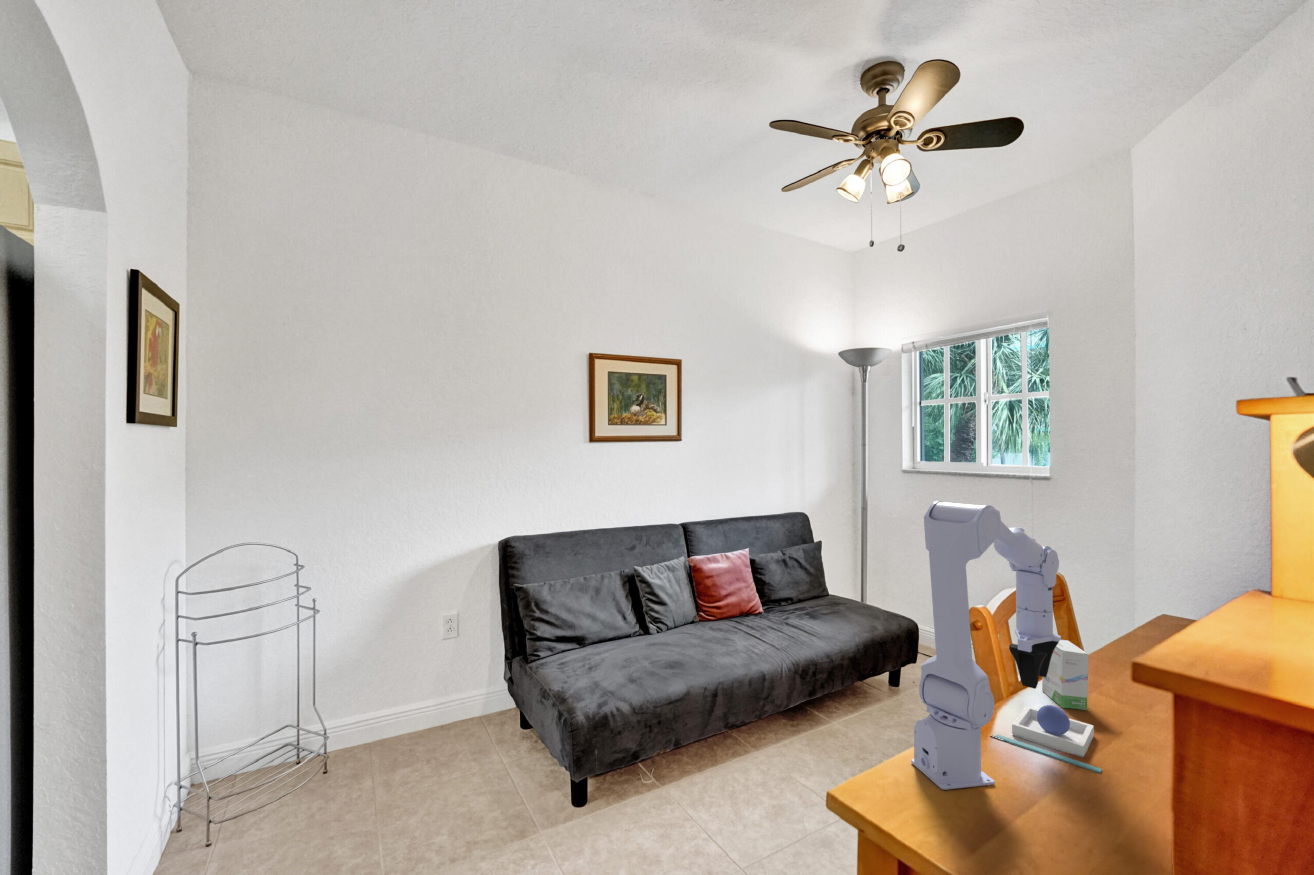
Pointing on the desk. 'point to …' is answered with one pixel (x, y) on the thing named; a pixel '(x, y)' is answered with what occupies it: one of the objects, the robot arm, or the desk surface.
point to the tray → (1069, 742)
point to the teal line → (1050, 754)
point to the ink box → (1067, 676)
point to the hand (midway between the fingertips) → (1034, 681)
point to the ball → (1053, 720)
